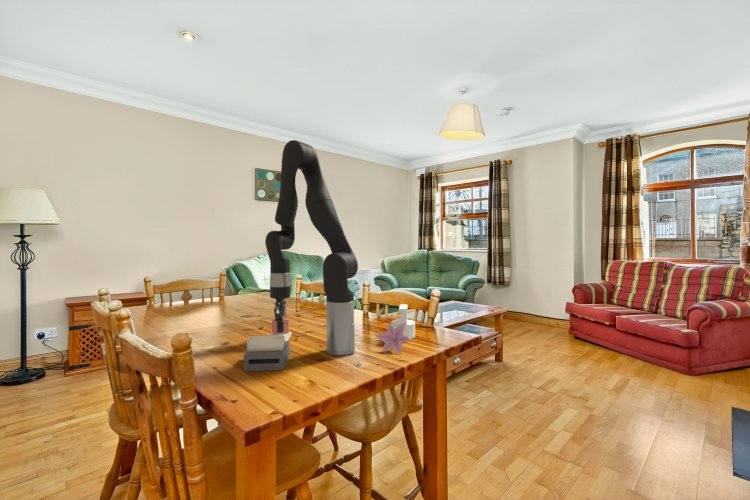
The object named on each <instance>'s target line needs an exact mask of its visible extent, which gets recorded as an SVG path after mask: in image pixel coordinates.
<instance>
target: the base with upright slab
mask: <svg viewBox="0 0 750 500" xmlns="http://www.w3.org/2000/svg"><path fill="white" fill-rule="evenodd" d="M402 323H406V324H405V329H404V332H403V335H405V336H407V337H408V338H410V339H412V338H414V337H415V338H416V321H415V320H411V319H408V304H406V303H405V304H400V303H399V308H398V319H394V320H392V321H391V325H392V326H393V327H394V328H396V327H397V326H398V325H400V324H402Z"/></svg>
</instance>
